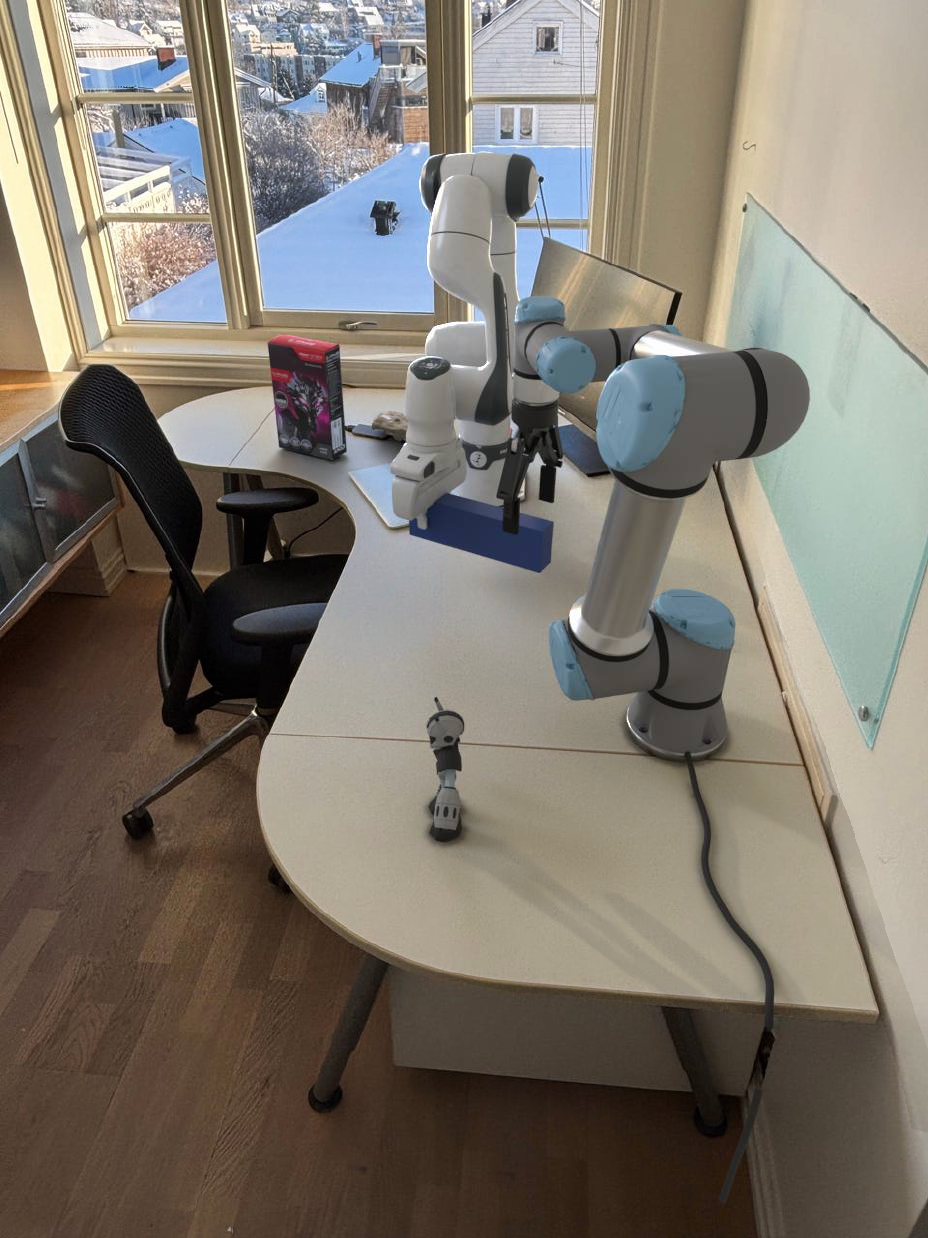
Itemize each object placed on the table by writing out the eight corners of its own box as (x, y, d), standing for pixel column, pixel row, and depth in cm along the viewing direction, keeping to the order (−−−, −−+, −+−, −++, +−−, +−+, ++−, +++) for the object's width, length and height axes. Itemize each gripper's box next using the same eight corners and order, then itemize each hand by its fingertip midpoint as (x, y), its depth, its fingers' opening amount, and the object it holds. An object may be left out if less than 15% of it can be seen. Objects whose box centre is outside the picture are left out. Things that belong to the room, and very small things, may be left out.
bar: (550, 562, 165) (553, 521, 160) (539, 573, 162) (542, 531, 157) (422, 525, 176) (421, 485, 172) (409, 534, 173) (408, 494, 168)
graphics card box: (276, 448, 231) (264, 340, 216) (293, 439, 236) (282, 332, 221) (333, 462, 225) (324, 351, 209) (349, 452, 230) (341, 343, 214)
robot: (467, 874, 119) (468, 759, 108) (429, 876, 119) (427, 760, 108) (460, 769, 135) (460, 659, 124) (426, 770, 135) (424, 660, 124)
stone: (355, 434, 231) (360, 411, 228) (377, 426, 244) (381, 404, 242) (433, 459, 227) (439, 435, 225) (451, 449, 241) (456, 426, 238)
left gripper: (446, 428, 173) (446, 495, 180) (384, 468, 158) (387, 539, 166) (475, 435, 170) (474, 503, 178) (415, 476, 155) (417, 548, 163)
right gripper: (548, 371, 158) (541, 484, 170) (476, 418, 140) (474, 540, 152) (588, 379, 155) (578, 493, 167) (520, 428, 137) (514, 552, 149)
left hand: (432, 521), depth 171 cm, fingers closed on bar, 4 cm apart
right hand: (528, 516), depth 160 cm, fingers open, 13 cm apart
